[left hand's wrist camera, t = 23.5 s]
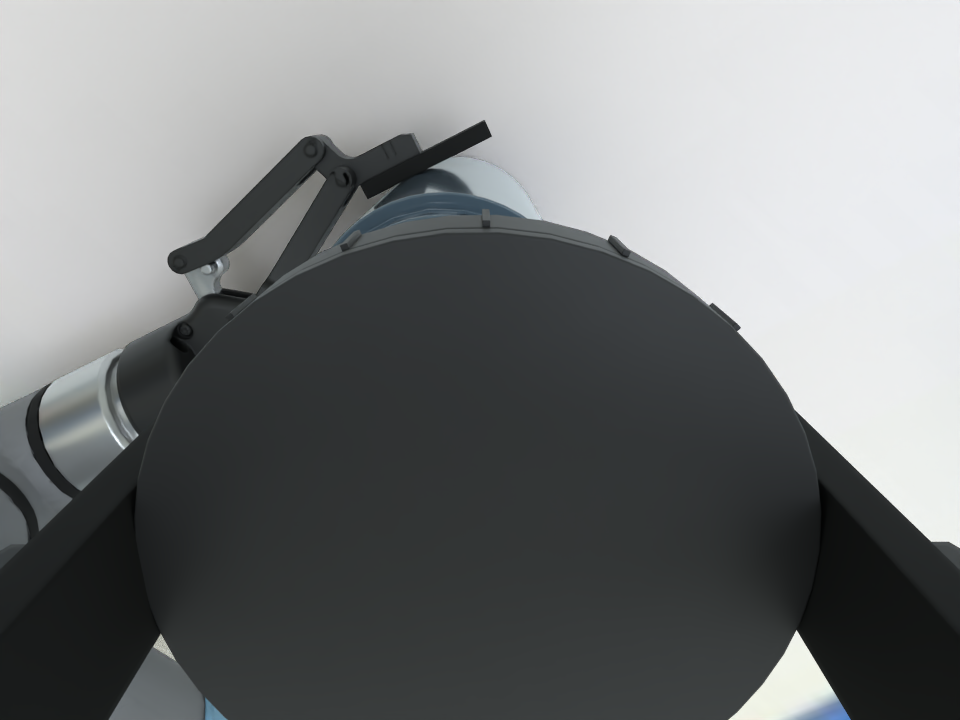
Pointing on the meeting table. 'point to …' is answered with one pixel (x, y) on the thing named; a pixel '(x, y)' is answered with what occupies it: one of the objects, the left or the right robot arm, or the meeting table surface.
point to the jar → (448, 196)
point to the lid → (478, 489)
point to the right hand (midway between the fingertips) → (533, 228)
